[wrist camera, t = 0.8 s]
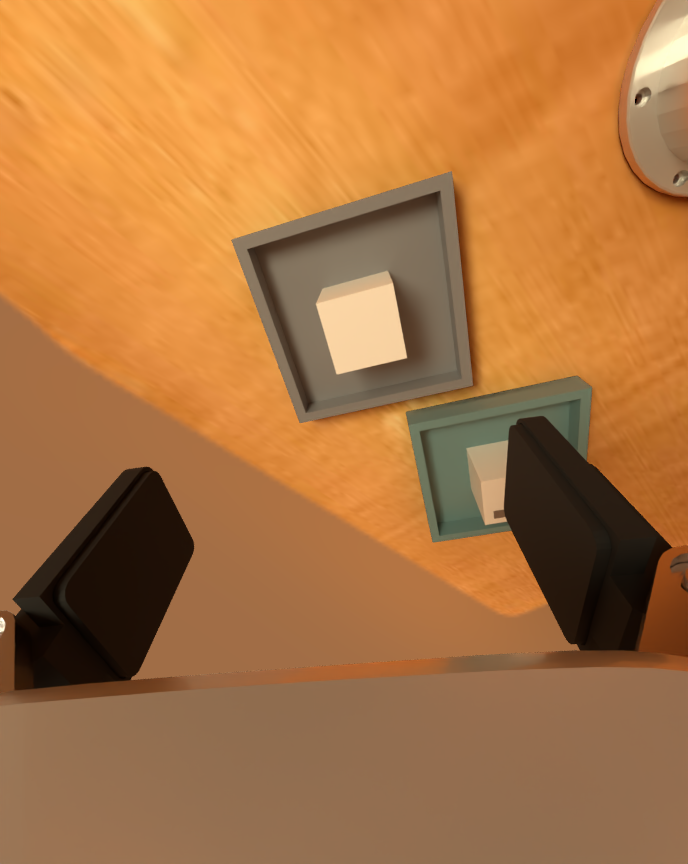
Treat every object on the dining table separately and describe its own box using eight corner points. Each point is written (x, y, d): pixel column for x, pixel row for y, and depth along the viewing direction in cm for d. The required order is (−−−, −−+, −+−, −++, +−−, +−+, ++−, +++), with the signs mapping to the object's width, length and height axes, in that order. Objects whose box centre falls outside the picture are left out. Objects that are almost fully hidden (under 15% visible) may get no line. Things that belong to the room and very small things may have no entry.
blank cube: (387, 270, 28) (392, 283, 23) (400, 335, 30) (407, 358, 26) (322, 288, 28) (315, 303, 24) (339, 350, 31) (336, 374, 27)
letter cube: (522, 437, 35) (545, 471, 30) (523, 479, 37) (545, 516, 33) (466, 448, 35) (481, 482, 31) (471, 488, 38) (485, 525, 33)
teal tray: (577, 375, 32) (592, 387, 30) (570, 503, 39) (582, 519, 37) (405, 411, 34) (408, 425, 32) (429, 525, 41) (432, 542, 39)
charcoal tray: (444, 173, 25) (451, 171, 23) (465, 374, 32) (473, 385, 30) (241, 236, 27) (231, 239, 25) (303, 410, 35) (299, 423, 33)
